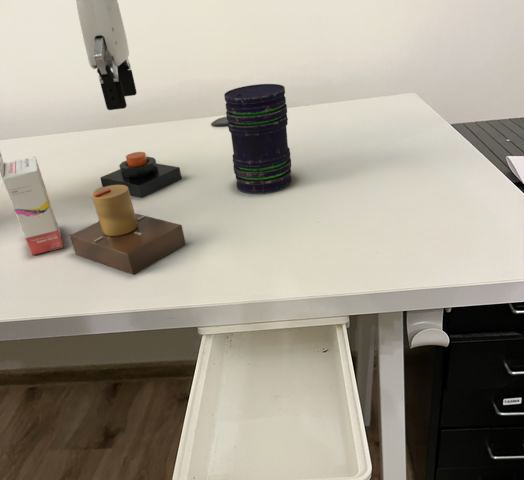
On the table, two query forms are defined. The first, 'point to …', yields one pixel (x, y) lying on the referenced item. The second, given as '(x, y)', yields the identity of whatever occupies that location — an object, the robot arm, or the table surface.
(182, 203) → the table surface
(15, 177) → the ink cartridge box
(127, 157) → the button
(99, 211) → the dial
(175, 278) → the table surface
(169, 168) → the button block
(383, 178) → the table surface
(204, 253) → the table surface
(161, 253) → the dial panel
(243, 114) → the dark blue barrel
